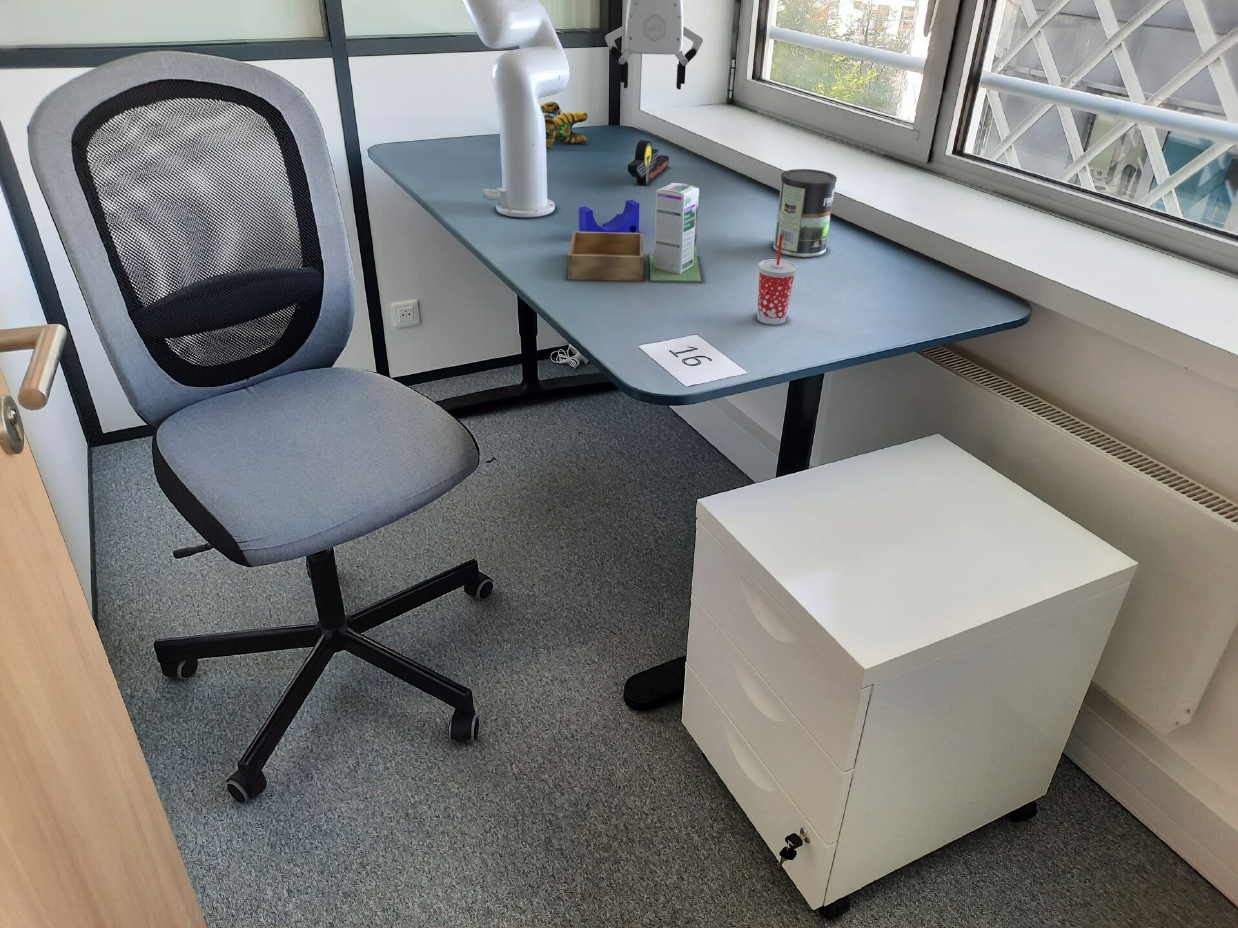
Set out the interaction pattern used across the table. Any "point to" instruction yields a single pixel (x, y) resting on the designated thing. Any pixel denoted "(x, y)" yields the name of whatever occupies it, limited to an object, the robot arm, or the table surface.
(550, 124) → the dog figurine
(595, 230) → the cable clip
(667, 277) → the mat
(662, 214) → the syrup box
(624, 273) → the tray
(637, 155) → the decorative sign
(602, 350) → the table surface
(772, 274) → the beverage cup
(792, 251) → the coffee can
